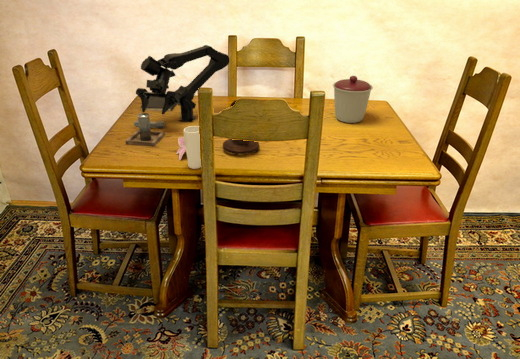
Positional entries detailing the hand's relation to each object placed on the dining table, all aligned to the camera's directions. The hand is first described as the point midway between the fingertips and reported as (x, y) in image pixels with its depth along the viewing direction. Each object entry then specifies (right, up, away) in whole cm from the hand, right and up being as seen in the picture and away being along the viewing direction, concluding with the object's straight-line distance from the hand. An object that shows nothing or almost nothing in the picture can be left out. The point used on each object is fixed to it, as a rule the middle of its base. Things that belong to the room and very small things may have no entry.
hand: (152, 113), depth 196 cm
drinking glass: (+22, -24, -24) cm, 40 cm away
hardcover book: (-5, +10, +41) cm, 43 cm away
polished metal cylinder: (-2, -11, -2) cm, 12 cm away
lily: (+17, -19, -15) cm, 30 cm away
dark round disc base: (+39, -17, -10) cm, 43 cm away
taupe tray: (-2, -12, -1) cm, 13 cm away
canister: (+89, 0, +22) cm, 92 cm away
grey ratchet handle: (-5, -4, +12) cm, 14 cm away
